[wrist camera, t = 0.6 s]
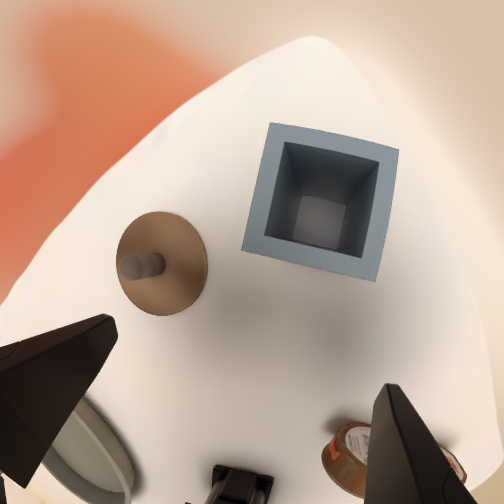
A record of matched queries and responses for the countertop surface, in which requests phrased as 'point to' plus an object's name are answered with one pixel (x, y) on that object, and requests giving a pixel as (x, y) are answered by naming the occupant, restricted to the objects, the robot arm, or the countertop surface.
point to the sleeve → (326, 187)
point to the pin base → (177, 263)
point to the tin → (359, 459)
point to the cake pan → (90, 459)
